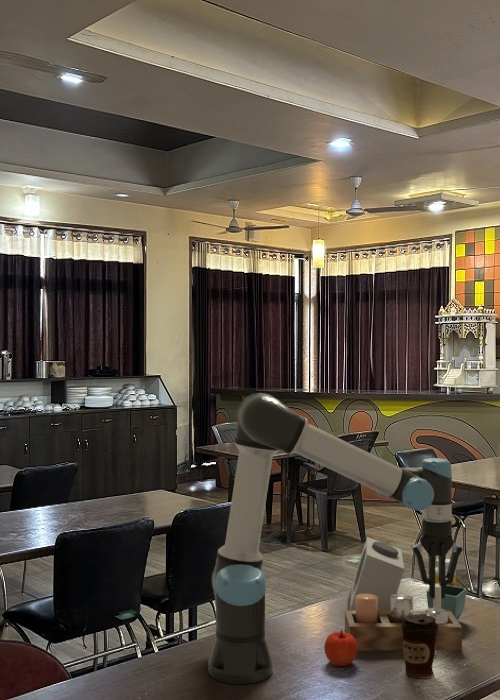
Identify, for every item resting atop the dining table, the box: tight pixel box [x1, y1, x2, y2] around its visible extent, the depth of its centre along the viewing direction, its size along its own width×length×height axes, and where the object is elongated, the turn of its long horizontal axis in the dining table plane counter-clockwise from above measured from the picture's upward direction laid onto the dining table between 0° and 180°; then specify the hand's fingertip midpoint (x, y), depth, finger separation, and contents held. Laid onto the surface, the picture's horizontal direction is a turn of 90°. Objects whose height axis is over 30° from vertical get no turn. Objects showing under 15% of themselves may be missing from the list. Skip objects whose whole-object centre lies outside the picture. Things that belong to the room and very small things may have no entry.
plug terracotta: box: [356, 594, 378, 623], centre depth 203 cm, size 6×6×7 cm
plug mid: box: [391, 593, 414, 623], centre depth 203 cm, size 6×6×7 cm
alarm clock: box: [346, 536, 405, 611], centre depth 225 cm, size 20×16×20 cm
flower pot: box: [426, 585, 467, 622], centre depth 218 cm, size 9×9×9 cm
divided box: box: [344, 609, 463, 652], centre depth 203 cm, size 28×12×6 cm, turn 89°
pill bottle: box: [435, 558, 457, 587], centre depth 238 cm, size 6×6×12 cm
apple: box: [323, 629, 359, 667], centre depth 189 cm, size 8×8×8 cm
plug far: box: [425, 607, 448, 624], centre depth 203 cm, size 6×6×7 cm
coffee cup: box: [402, 614, 438, 679], centre depth 183 cm, size 9×8×13 cm
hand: (437, 610), depth 203 cm, fingers closed
